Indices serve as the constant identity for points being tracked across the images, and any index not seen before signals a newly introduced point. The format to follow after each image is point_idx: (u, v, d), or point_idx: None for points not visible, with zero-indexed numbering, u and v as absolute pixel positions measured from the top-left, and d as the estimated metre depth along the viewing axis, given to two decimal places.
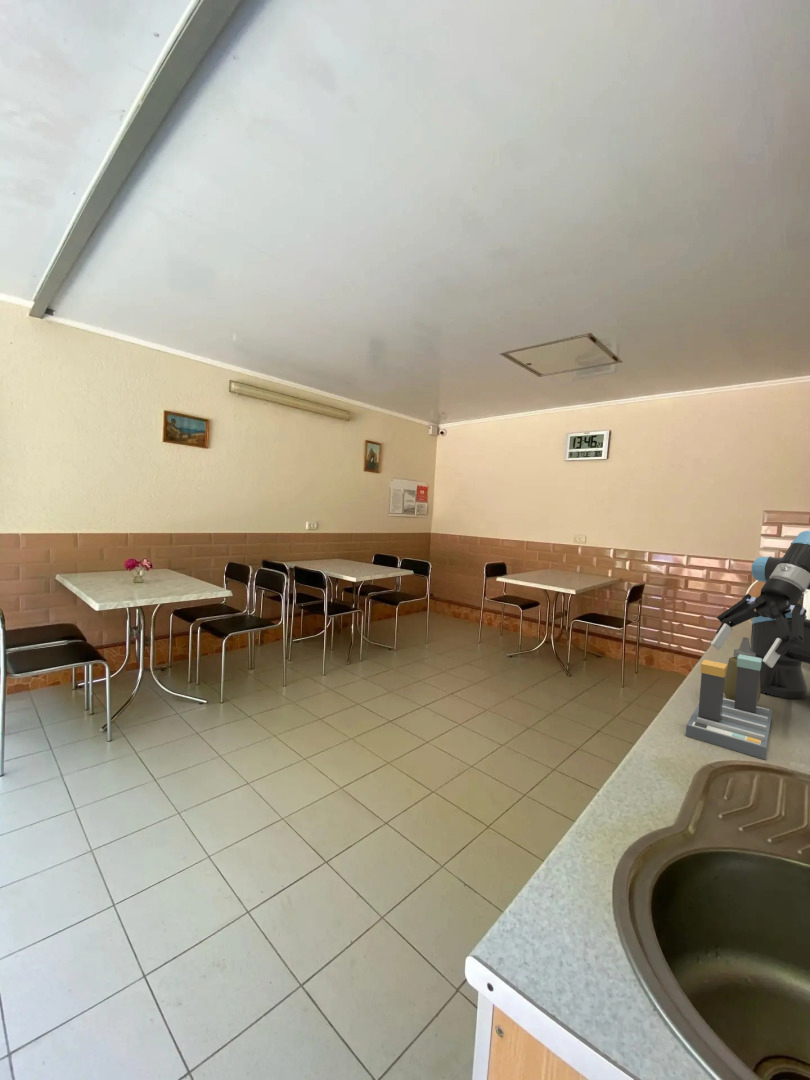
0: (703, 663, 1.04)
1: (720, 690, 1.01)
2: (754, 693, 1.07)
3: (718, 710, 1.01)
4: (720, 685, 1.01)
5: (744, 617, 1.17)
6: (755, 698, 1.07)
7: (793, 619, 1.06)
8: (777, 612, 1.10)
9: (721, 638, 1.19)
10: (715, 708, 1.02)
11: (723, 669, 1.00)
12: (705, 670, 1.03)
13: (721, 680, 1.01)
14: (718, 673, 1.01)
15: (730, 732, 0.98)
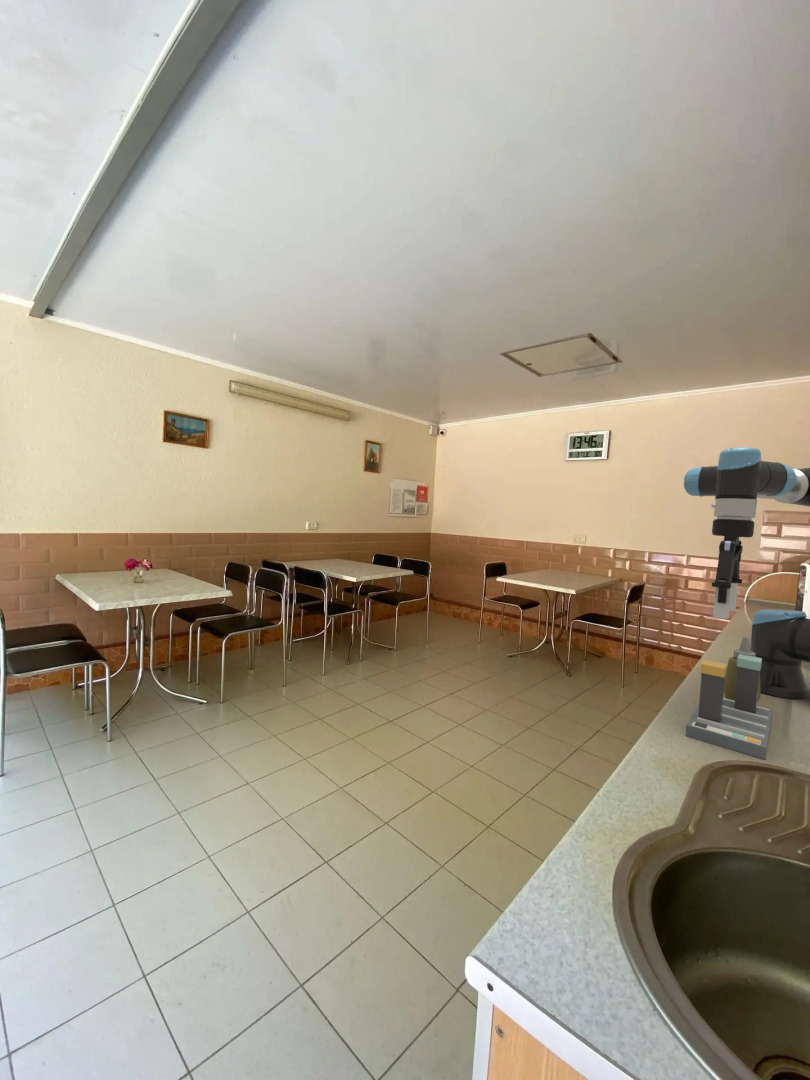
0: (703, 663, 1.04)
1: (720, 690, 1.01)
2: (754, 693, 1.07)
3: (718, 710, 1.01)
4: (720, 685, 1.01)
5: None
6: (755, 698, 1.07)
7: None
8: None
9: None
10: (715, 708, 1.02)
11: (723, 669, 1.00)
12: (705, 670, 1.03)
13: (721, 680, 1.01)
14: (718, 673, 1.01)
15: (730, 732, 0.98)
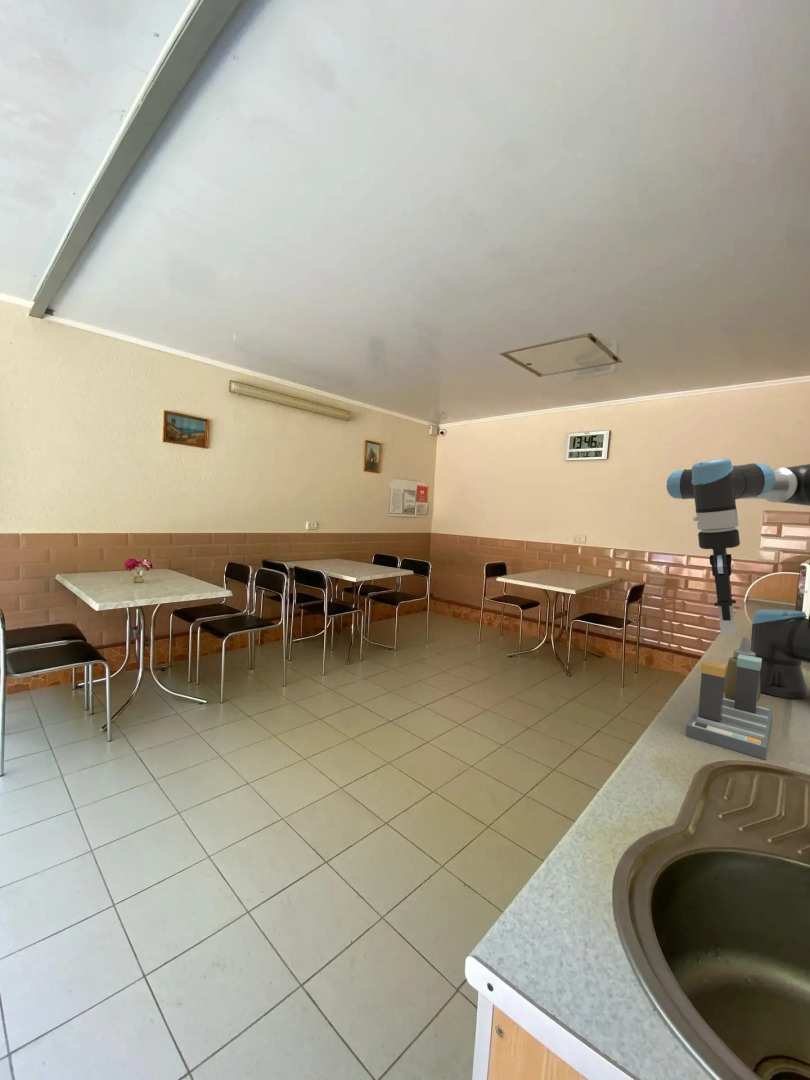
0: (703, 663, 1.04)
1: (720, 690, 1.01)
2: (754, 693, 1.07)
3: (718, 710, 1.01)
4: (720, 685, 1.01)
5: None
6: (755, 698, 1.07)
7: (715, 581, 1.00)
8: (712, 572, 1.02)
9: None
10: (715, 708, 1.02)
11: (723, 669, 1.00)
12: (705, 670, 1.03)
13: (721, 680, 1.01)
14: (718, 673, 1.01)
15: (730, 732, 0.98)
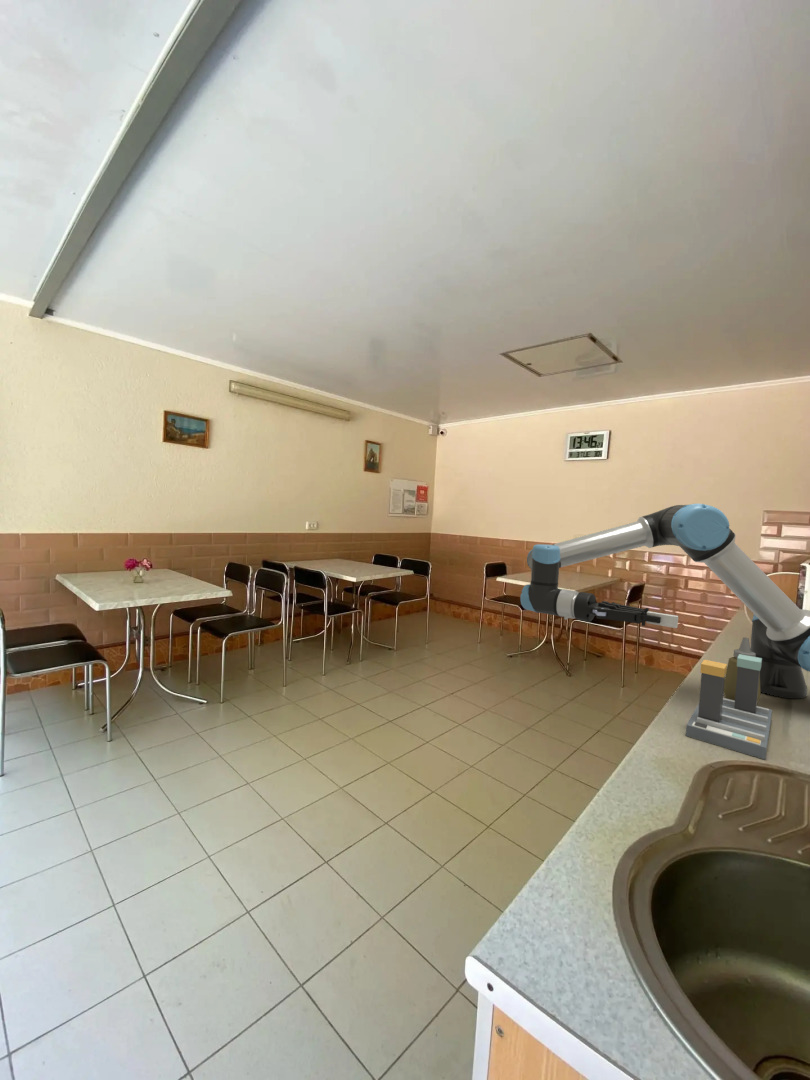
0: (703, 663, 1.04)
1: (720, 690, 1.01)
2: (754, 693, 1.07)
3: (718, 710, 1.01)
4: (720, 685, 1.01)
5: None
6: (755, 698, 1.07)
7: (615, 619, 1.13)
8: None
9: None
10: (715, 708, 1.02)
11: (723, 669, 1.00)
12: (705, 670, 1.03)
13: (721, 680, 1.01)
14: (718, 673, 1.01)
15: (730, 732, 0.98)
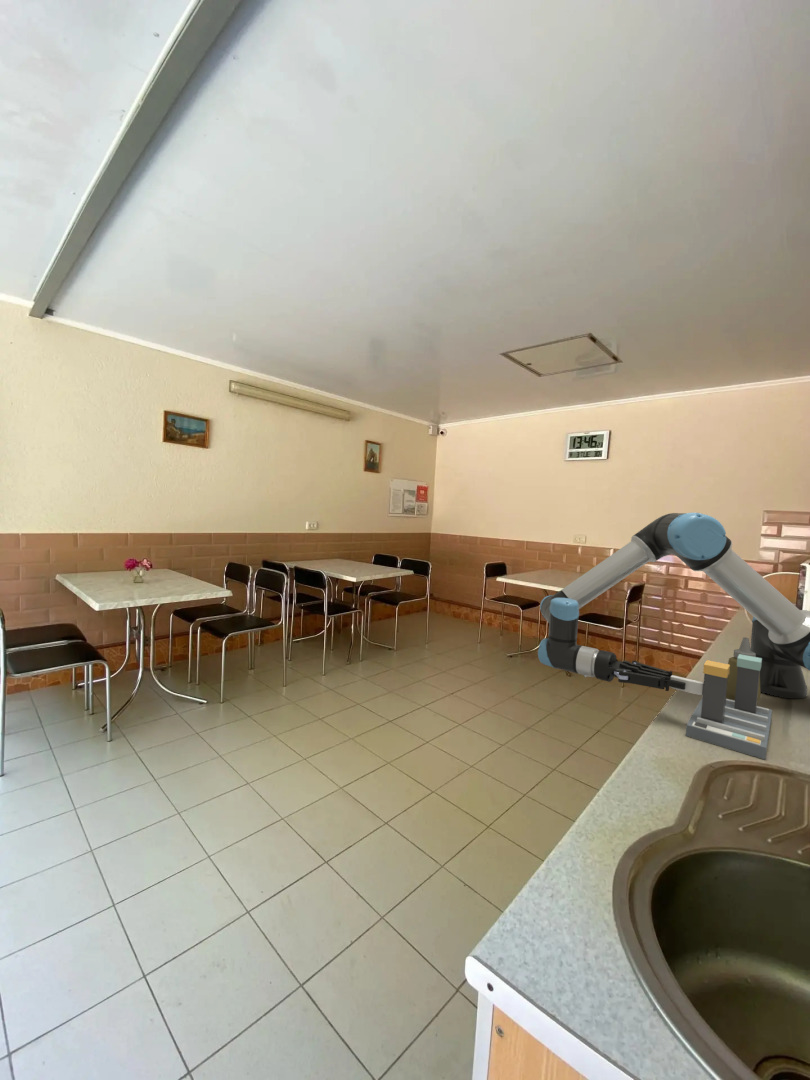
0: (706, 664, 1.03)
1: (723, 691, 1.01)
2: (754, 693, 1.07)
3: (721, 711, 1.01)
4: (723, 686, 1.01)
5: None
6: (755, 698, 1.07)
7: None
8: None
9: None
10: (718, 709, 1.01)
11: (726, 670, 1.00)
12: (708, 671, 1.02)
13: (724, 681, 1.01)
14: (721, 674, 1.01)
15: (730, 732, 0.98)
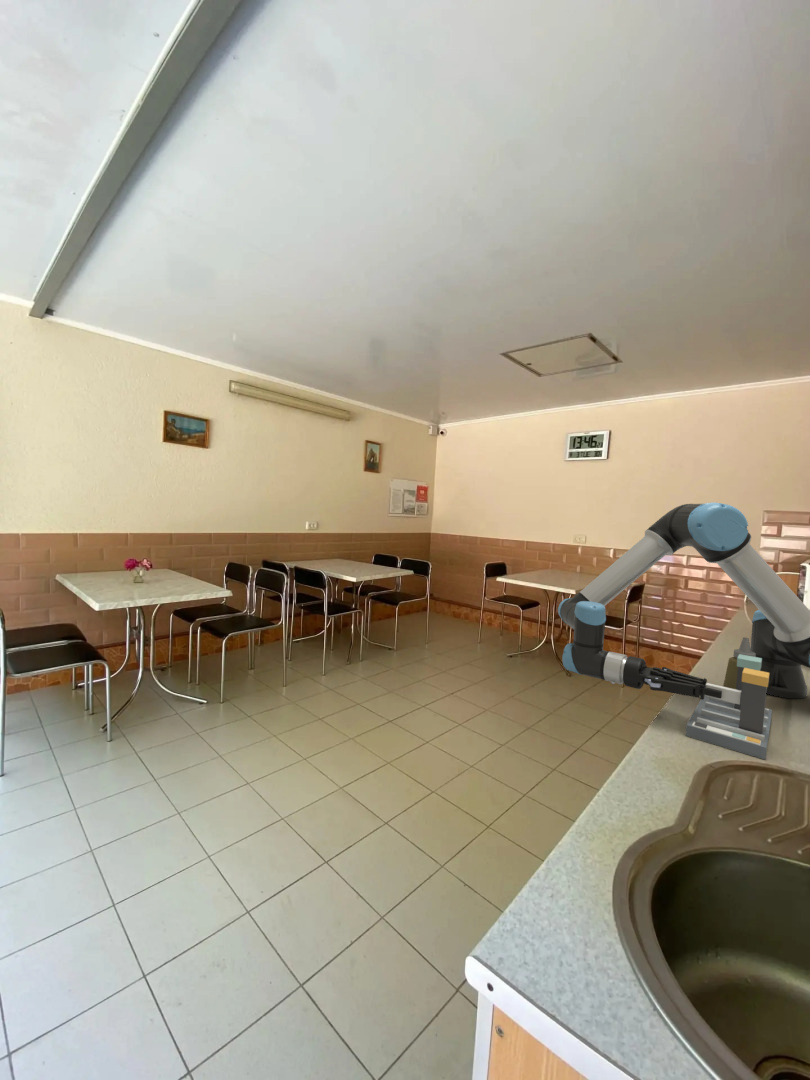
0: (744, 672, 0.99)
1: (763, 700, 0.96)
2: None
3: (761, 721, 0.96)
4: (763, 695, 0.96)
5: None
6: None
7: None
8: None
9: None
10: (758, 719, 0.97)
11: (767, 678, 0.96)
12: (747, 679, 0.98)
13: (764, 690, 0.96)
14: (761, 682, 0.96)
15: (730, 732, 0.98)
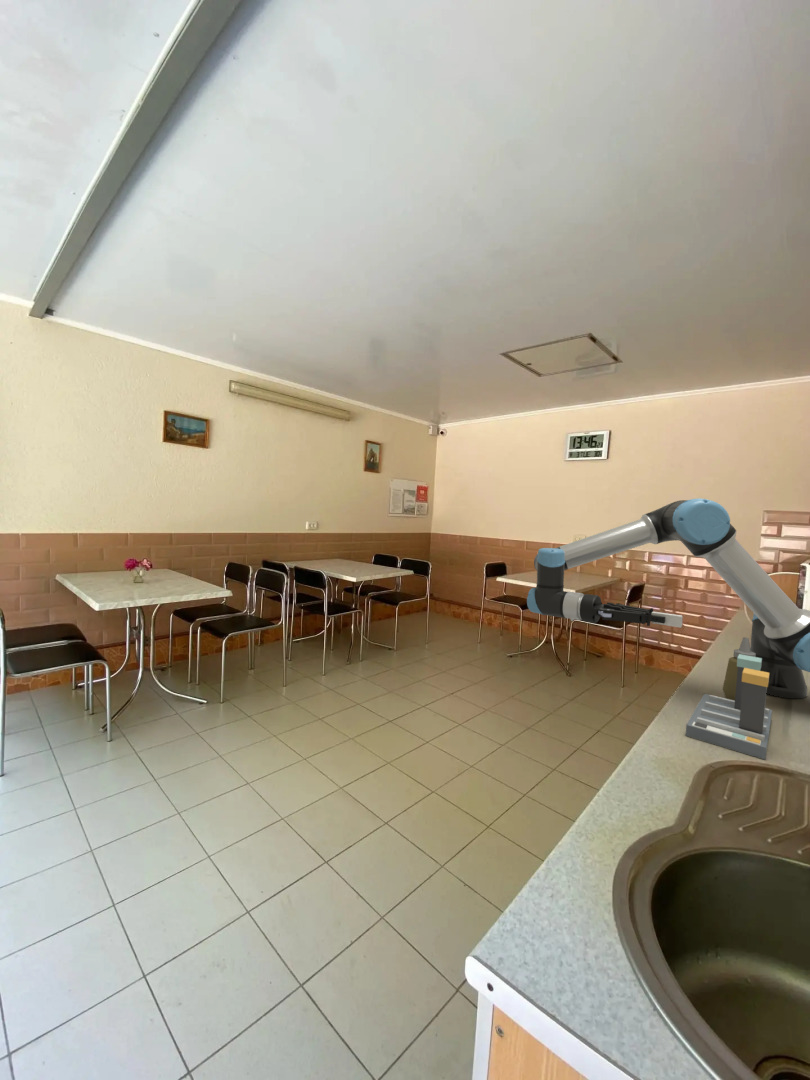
0: (744, 672, 0.99)
1: (763, 700, 0.96)
2: None
3: (761, 721, 0.96)
4: (763, 695, 0.96)
5: None
6: None
7: (621, 620, 1.16)
8: None
9: None
10: (758, 719, 0.97)
11: (767, 678, 0.96)
12: (747, 679, 0.98)
13: (764, 690, 0.96)
14: (761, 682, 0.96)
15: (730, 732, 0.98)
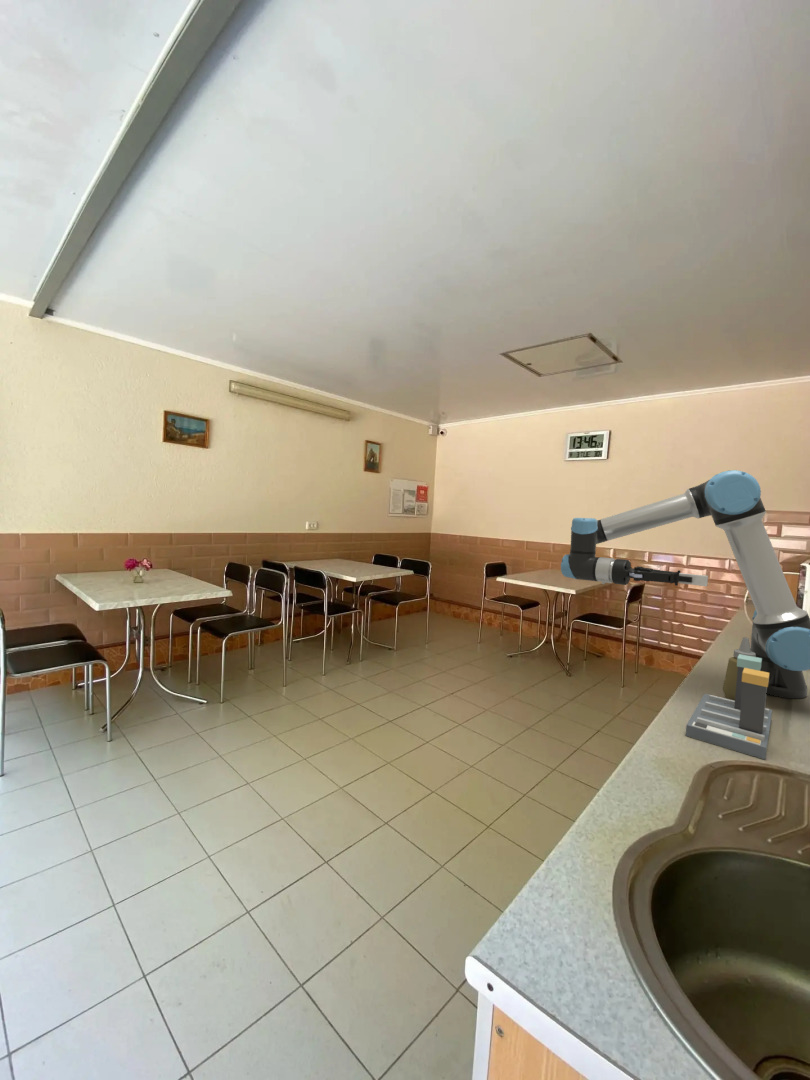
0: (744, 672, 0.99)
1: (763, 700, 0.96)
2: None
3: (761, 721, 0.96)
4: (763, 695, 0.96)
5: None
6: None
7: (650, 580, 1.27)
8: None
9: None
10: (758, 719, 0.97)
11: (767, 678, 0.96)
12: (747, 679, 0.98)
13: (764, 690, 0.96)
14: (761, 682, 0.96)
15: (730, 732, 0.98)
